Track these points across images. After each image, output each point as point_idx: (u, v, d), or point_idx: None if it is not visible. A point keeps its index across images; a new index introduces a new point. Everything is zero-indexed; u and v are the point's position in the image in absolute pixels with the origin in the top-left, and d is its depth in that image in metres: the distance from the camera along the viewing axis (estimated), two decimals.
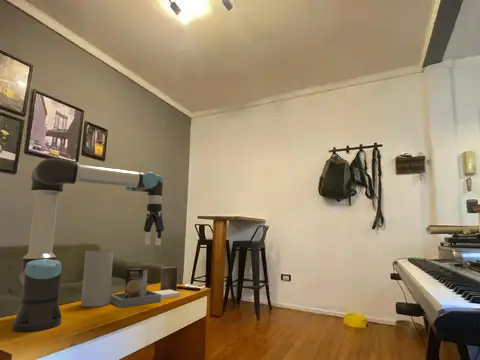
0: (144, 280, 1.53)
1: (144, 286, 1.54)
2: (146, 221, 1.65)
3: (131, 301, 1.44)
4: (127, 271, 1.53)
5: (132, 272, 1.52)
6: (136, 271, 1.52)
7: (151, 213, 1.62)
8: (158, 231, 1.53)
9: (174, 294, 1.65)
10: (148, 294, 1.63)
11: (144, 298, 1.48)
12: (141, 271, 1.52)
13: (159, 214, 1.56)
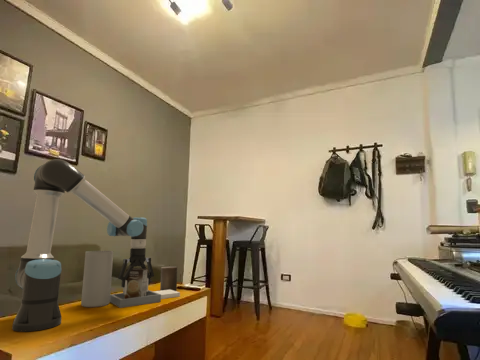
0: (144, 280, 1.53)
1: (144, 286, 1.54)
2: None
3: (131, 301, 1.44)
4: None
5: (132, 272, 1.52)
6: (136, 271, 1.52)
7: None
8: (122, 280, 1.51)
9: (174, 294, 1.65)
10: (148, 294, 1.63)
11: (144, 298, 1.48)
12: (141, 271, 1.52)
13: (124, 261, 1.52)
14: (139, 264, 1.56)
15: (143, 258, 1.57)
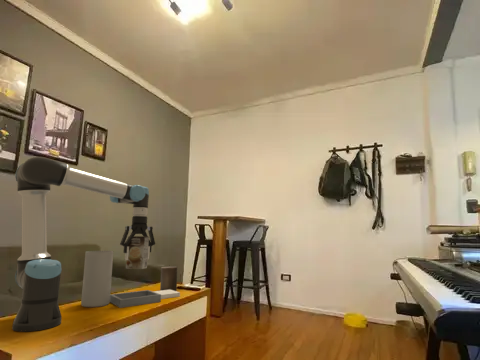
0: (145, 247, 1.56)
1: (146, 253, 1.57)
2: (149, 234, 1.63)
3: (131, 301, 1.44)
4: None
5: (134, 239, 1.55)
6: (138, 238, 1.55)
7: None
8: (124, 246, 1.54)
9: (174, 294, 1.65)
10: (148, 294, 1.63)
11: (144, 298, 1.48)
12: (143, 238, 1.55)
13: (126, 228, 1.55)
14: (141, 232, 1.58)
15: (145, 226, 1.60)
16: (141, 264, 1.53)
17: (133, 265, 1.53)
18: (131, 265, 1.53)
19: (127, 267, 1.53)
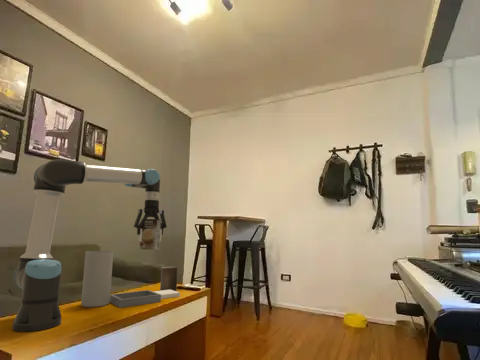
0: (158, 229, 1.64)
1: (158, 235, 1.64)
2: None
3: (131, 301, 1.44)
4: None
5: (147, 221, 1.63)
6: (150, 220, 1.63)
7: None
8: None
9: (174, 294, 1.65)
10: (148, 294, 1.63)
11: (144, 298, 1.48)
12: (155, 220, 1.62)
13: (139, 211, 1.62)
14: (153, 215, 1.66)
15: (157, 210, 1.68)
16: (154, 245, 1.60)
17: (146, 246, 1.60)
18: (144, 246, 1.61)
19: (140, 248, 1.61)
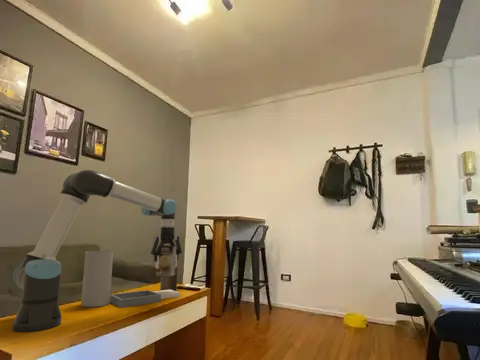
0: (173, 255, 1.70)
1: (174, 261, 1.70)
2: (176, 243, 1.77)
3: (131, 301, 1.44)
4: None
5: (163, 248, 1.69)
6: (167, 247, 1.69)
7: None
8: None
9: (174, 294, 1.65)
10: (148, 294, 1.63)
11: (144, 298, 1.48)
12: (171, 247, 1.68)
13: (155, 238, 1.68)
14: (169, 241, 1.72)
15: (172, 236, 1.74)
16: (170, 271, 1.66)
17: (163, 272, 1.66)
18: (161, 273, 1.67)
19: (157, 274, 1.67)
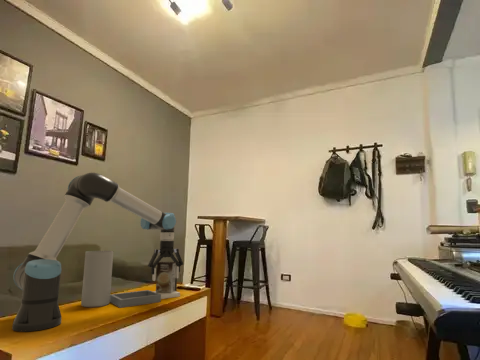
0: (173, 272, 1.68)
1: (173, 277, 1.69)
2: (176, 256, 1.76)
3: (131, 301, 1.44)
4: (158, 264, 1.68)
5: (162, 265, 1.67)
6: (166, 264, 1.67)
7: None
8: None
9: (174, 294, 1.65)
10: (148, 294, 1.63)
11: (144, 298, 1.48)
12: (171, 264, 1.67)
13: (155, 251, 1.67)
14: (168, 255, 1.71)
15: (171, 250, 1.72)
16: (170, 289, 1.65)
17: (162, 290, 1.65)
18: (160, 290, 1.65)
19: (157, 291, 1.65)
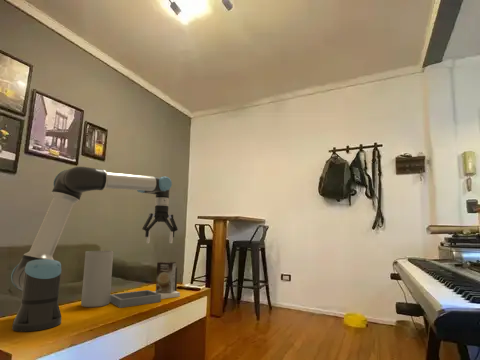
0: (173, 272, 1.68)
1: (173, 277, 1.69)
2: (171, 222, 1.79)
3: (131, 301, 1.44)
4: (158, 264, 1.68)
5: (162, 265, 1.67)
6: (166, 264, 1.67)
7: None
8: (146, 230, 1.68)
9: (174, 294, 1.65)
10: (148, 294, 1.63)
11: (144, 298, 1.48)
12: (171, 264, 1.67)
13: (149, 215, 1.70)
14: (163, 220, 1.73)
15: (166, 215, 1.75)
16: (170, 289, 1.65)
17: (162, 290, 1.65)
18: (160, 290, 1.65)
19: (157, 291, 1.65)
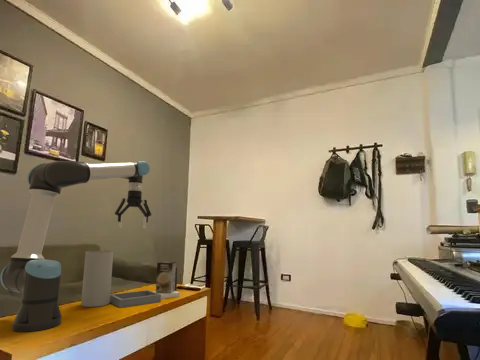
0: (173, 272, 1.68)
1: (173, 277, 1.69)
2: None
3: (131, 301, 1.44)
4: (158, 264, 1.68)
5: (162, 265, 1.67)
6: (166, 264, 1.67)
7: None
8: (118, 215, 1.69)
9: (174, 294, 1.65)
10: (148, 294, 1.63)
11: (144, 298, 1.48)
12: (171, 264, 1.67)
13: (122, 200, 1.70)
14: (136, 205, 1.74)
15: (139, 200, 1.75)
16: (170, 289, 1.65)
17: (162, 290, 1.65)
18: (160, 290, 1.65)
19: (157, 291, 1.65)
